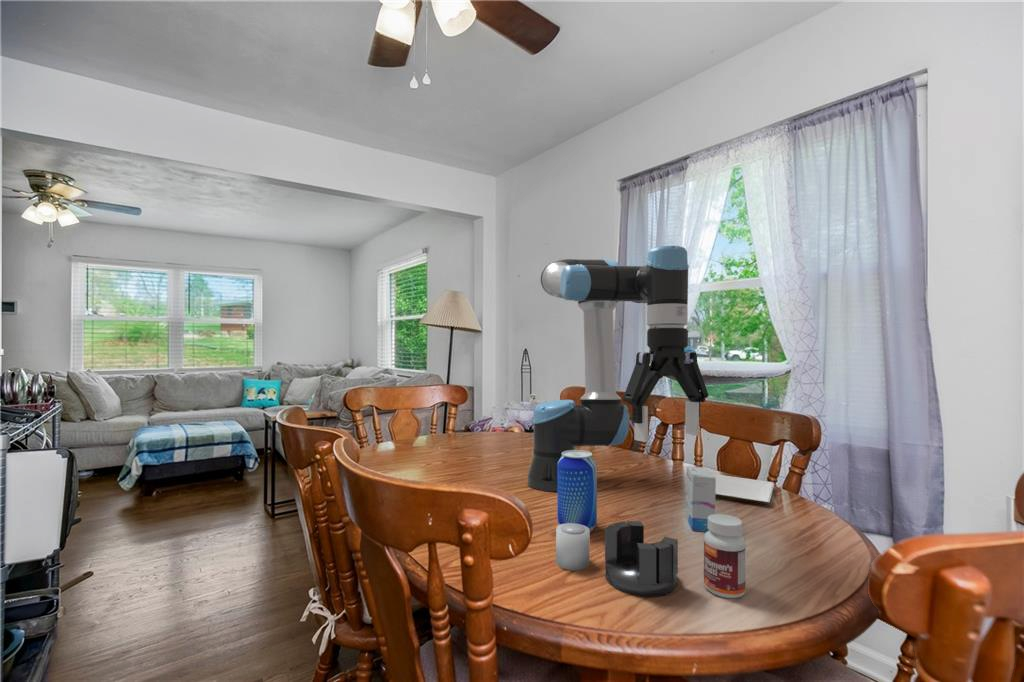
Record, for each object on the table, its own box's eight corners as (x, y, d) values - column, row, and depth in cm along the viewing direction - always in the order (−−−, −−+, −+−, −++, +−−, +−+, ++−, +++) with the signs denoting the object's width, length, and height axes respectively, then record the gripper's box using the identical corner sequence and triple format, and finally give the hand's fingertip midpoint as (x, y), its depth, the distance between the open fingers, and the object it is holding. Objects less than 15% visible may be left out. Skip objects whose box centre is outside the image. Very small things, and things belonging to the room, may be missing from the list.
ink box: (716, 533, 99) (716, 476, 99) (691, 531, 100) (691, 475, 100) (708, 518, 108) (708, 466, 108) (685, 516, 109) (684, 465, 109)
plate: (774, 489, 130) (774, 482, 130) (769, 509, 114) (769, 501, 114) (702, 479, 140) (702, 472, 140) (688, 496, 124) (688, 488, 124)
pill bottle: (698, 590, 76) (698, 520, 76) (710, 576, 81) (710, 509, 81) (739, 604, 72) (739, 529, 72) (750, 588, 77) (750, 518, 77)
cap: (549, 558, 87) (550, 524, 87) (577, 552, 90) (577, 519, 90) (567, 573, 82) (567, 536, 82) (596, 566, 84) (596, 530, 84)
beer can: (601, 524, 104) (601, 451, 104) (590, 538, 96) (590, 459, 96) (564, 518, 107) (564, 447, 108) (551, 531, 100) (551, 455, 100)
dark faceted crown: (591, 570, 82) (591, 527, 82) (643, 557, 87) (643, 517, 88) (636, 603, 72) (636, 554, 72) (692, 586, 77) (692, 540, 77)
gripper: (631, 325, 82) (631, 447, 82) (727, 328, 94) (727, 435, 94) (603, 326, 89) (603, 440, 88) (696, 329, 101) (696, 429, 100)
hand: (667, 437), depth 91 cm, fingers open, 13 cm apart
